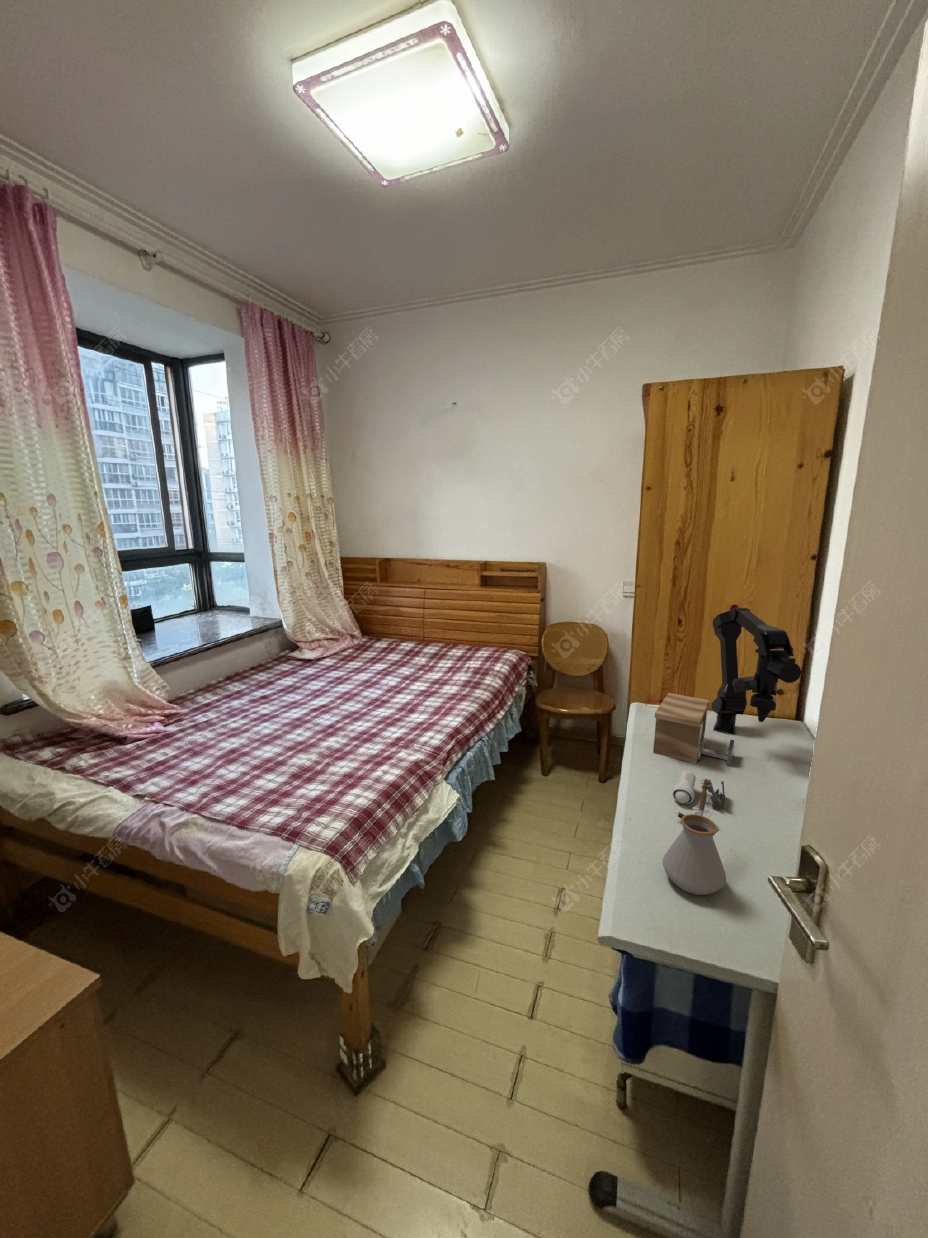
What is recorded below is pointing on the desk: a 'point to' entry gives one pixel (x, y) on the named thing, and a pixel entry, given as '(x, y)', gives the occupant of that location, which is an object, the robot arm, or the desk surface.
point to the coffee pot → (696, 854)
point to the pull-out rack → (715, 753)
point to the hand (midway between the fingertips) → (760, 721)
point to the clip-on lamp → (686, 794)
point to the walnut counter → (680, 726)
